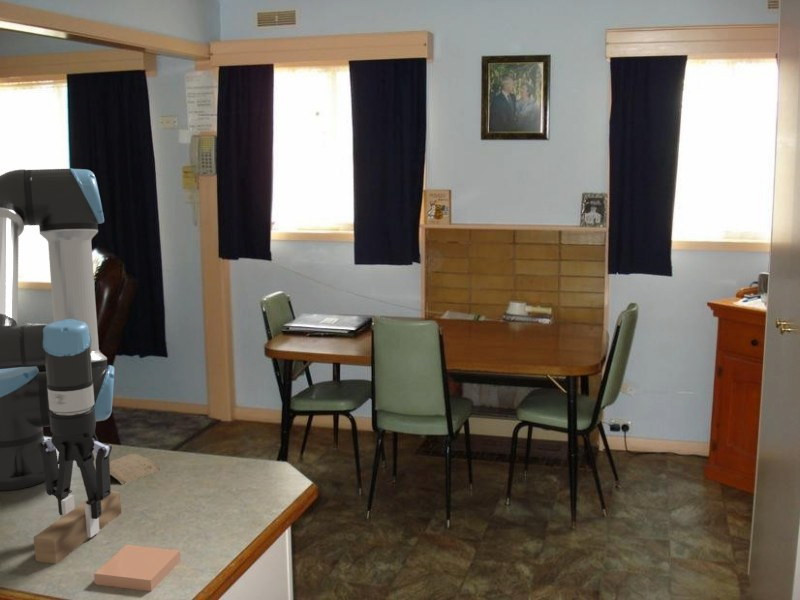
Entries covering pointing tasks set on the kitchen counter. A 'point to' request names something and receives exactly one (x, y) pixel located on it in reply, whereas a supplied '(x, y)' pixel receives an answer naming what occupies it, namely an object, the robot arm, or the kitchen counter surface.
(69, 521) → the walnut stick
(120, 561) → the terracotta tile
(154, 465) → the curved brown bark piece
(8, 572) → the kitchen counter surface
